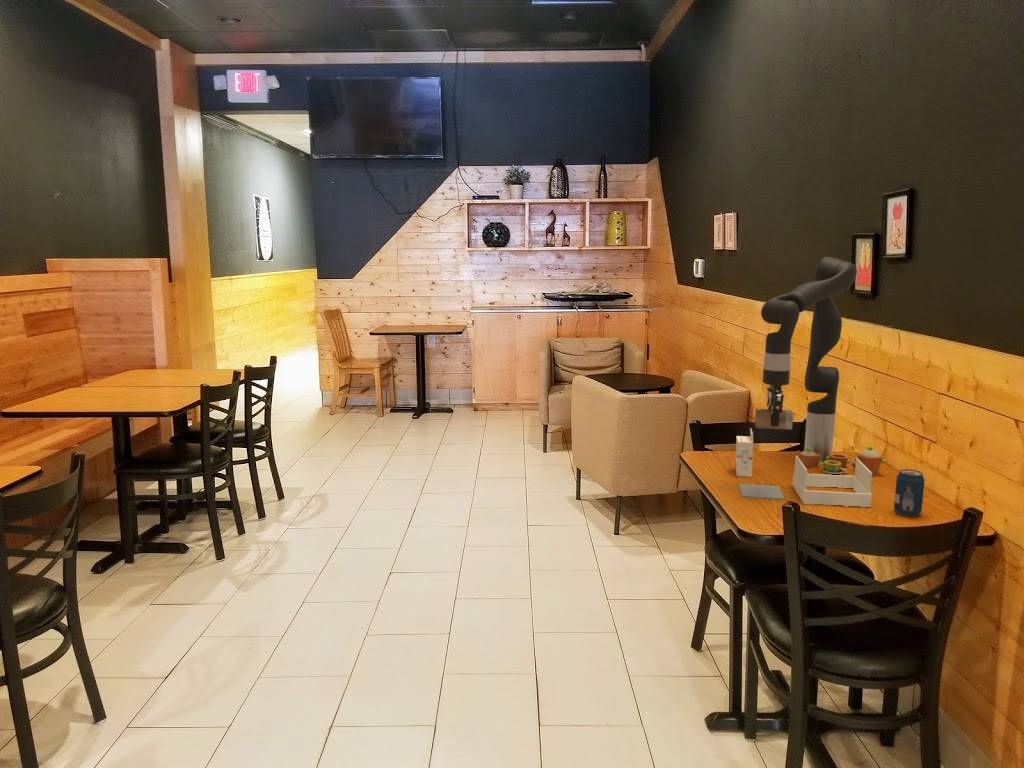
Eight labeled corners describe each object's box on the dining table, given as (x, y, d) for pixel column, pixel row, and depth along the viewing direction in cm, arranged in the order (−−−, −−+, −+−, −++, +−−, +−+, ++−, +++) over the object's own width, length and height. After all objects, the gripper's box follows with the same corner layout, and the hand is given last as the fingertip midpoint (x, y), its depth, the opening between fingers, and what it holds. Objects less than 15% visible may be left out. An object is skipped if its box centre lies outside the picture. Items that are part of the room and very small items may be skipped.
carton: (792, 485, 237) (794, 454, 235) (854, 488, 234) (856, 457, 232) (804, 503, 219) (806, 470, 218) (870, 507, 216) (873, 474, 214)
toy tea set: (872, 464, 261) (874, 437, 259) (890, 478, 246) (893, 449, 244) (795, 463, 263) (797, 436, 261) (808, 476, 248) (810, 447, 246)
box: (754, 424, 229) (755, 408, 228) (789, 426, 227) (790, 409, 226) (757, 428, 224) (758, 411, 223) (792, 429, 222) (793, 412, 222)
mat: (738, 485, 237) (738, 483, 237) (778, 487, 235) (778, 486, 235) (742, 497, 225) (742, 495, 225) (784, 499, 223) (784, 498, 223)
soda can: (912, 508, 215) (916, 468, 213) (926, 517, 208) (930, 475, 206) (888, 509, 215) (892, 468, 213) (901, 517, 208) (905, 475, 206)
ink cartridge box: (734, 469, 255) (736, 426, 252) (749, 469, 254) (751, 427, 251) (736, 476, 246) (738, 432, 244) (752, 477, 245) (754, 433, 243)
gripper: (794, 371, 215) (790, 430, 218) (785, 364, 229) (781, 419, 232) (767, 371, 216) (764, 429, 219) (759, 364, 230) (756, 418, 233)
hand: (773, 423), depth 225 cm, fingers closed on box, 4 cm apart
